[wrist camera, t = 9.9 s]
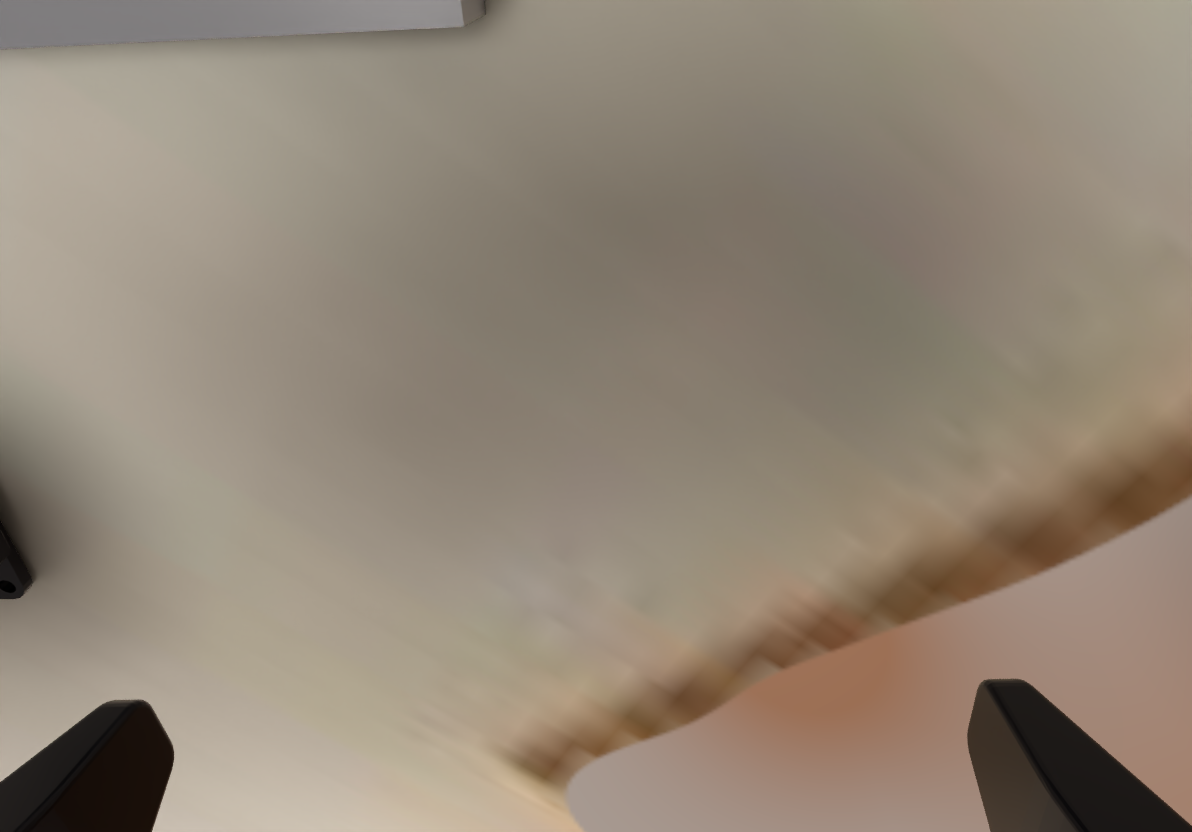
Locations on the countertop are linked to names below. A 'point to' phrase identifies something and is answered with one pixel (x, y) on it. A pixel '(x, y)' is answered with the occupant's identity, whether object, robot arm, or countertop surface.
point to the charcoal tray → (215, 19)
